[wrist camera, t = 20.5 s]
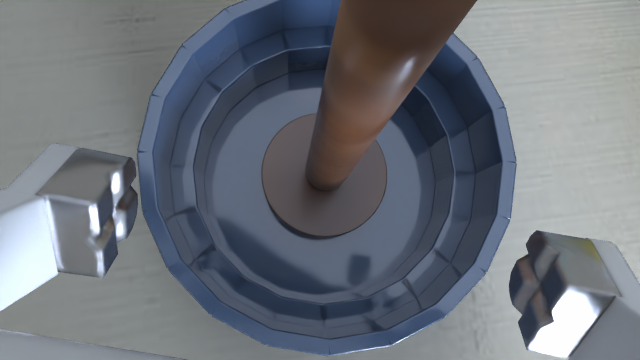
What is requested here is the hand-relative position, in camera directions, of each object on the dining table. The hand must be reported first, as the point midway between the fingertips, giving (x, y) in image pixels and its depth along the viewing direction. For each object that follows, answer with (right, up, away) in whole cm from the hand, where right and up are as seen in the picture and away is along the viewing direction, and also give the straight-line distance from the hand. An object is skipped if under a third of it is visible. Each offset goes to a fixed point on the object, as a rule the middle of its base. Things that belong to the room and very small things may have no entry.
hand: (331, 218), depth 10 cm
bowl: (0, +1, +14) cm, 14 cm away
